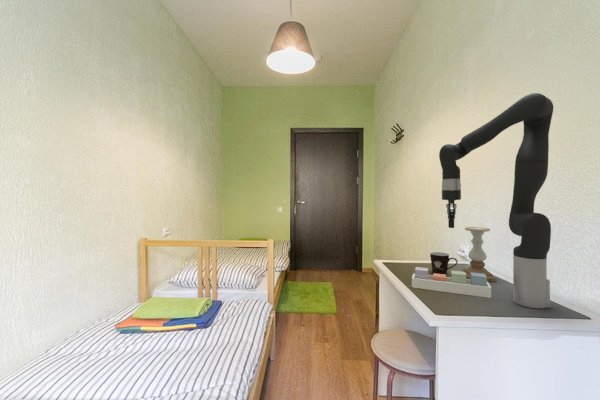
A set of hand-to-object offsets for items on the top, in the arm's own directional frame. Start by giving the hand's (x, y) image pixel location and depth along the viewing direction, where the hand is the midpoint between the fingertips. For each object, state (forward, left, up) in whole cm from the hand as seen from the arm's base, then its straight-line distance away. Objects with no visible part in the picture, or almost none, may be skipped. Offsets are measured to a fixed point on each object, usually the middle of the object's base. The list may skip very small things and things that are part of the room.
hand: (451, 227), depth 123 cm
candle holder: (-15, -9, -25) cm, 31 cm away
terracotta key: (+8, +8, -24) cm, 26 cm away
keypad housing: (+5, +9, -25) cm, 27 cm away
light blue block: (-5, +12, -22) cm, 26 cm away
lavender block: (+14, +6, -22) cm, 27 cm away
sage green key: (+1, +10, -22) cm, 24 cm away
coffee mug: (-1, -14, -25) cm, 29 cm away
